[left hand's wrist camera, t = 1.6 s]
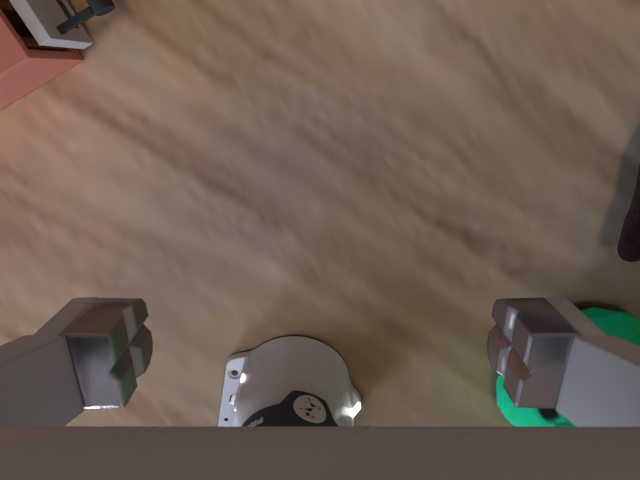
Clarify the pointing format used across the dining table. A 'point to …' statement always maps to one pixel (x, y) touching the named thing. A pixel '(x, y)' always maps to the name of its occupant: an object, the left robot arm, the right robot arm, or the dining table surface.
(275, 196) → the dining table surface
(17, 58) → the cabinet
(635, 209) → the rock
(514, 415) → the toy
